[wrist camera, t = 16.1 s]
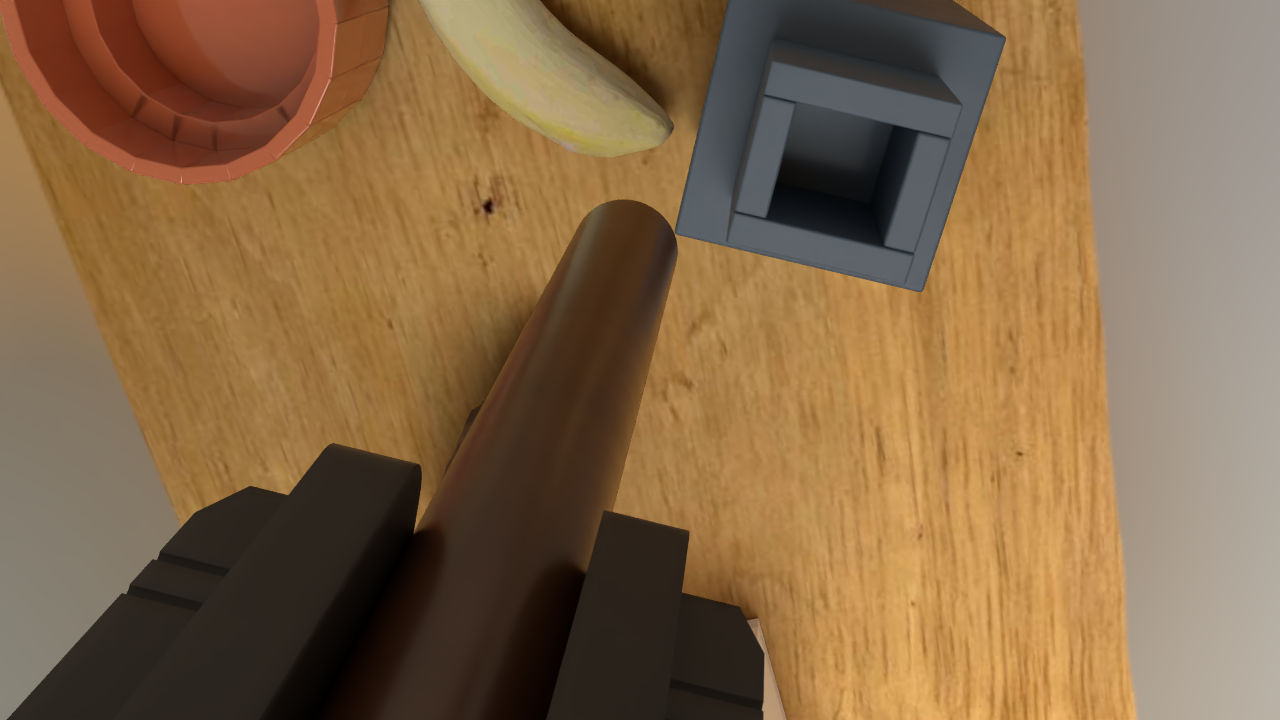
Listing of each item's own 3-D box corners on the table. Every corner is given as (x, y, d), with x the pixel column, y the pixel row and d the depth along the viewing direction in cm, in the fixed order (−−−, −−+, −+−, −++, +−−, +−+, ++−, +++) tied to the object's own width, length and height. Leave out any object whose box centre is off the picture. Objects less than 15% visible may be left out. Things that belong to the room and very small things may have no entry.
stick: (581, 189, 18) (58, 1074, 5) (685, 208, 18) (432, 1153, 5) (569, 287, 18) (79, 1292, 6) (669, 305, 18) (406, 1365, 6)
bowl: (99, -207, 41) (-7, -220, 35) (411, -135, 41) (354, -136, 35) (92, 109, 45) (-3, 141, 40) (373, 175, 45) (317, 217, 39)
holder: (745, -53, 40) (728, -14, 26) (943, -8, 40) (1041, 59, 26) (699, 143, 43) (660, 281, 28) (884, 186, 43) (941, 348, 28)
